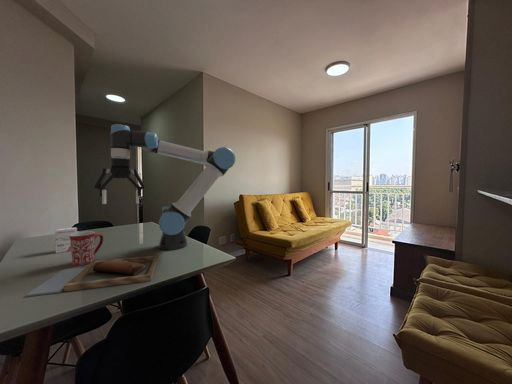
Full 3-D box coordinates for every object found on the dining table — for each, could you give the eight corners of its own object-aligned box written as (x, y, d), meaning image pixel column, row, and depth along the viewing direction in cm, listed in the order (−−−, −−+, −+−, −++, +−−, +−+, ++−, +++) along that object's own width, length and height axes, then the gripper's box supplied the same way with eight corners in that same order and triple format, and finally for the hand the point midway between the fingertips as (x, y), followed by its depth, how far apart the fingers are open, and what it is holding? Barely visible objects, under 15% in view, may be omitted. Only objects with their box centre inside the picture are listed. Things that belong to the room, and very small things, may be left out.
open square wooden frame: (159, 259, 98) (159, 255, 98) (150, 280, 76) (150, 275, 76) (94, 265, 90) (94, 261, 90) (63, 291, 68) (63, 285, 68)
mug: (75, 268, 86) (74, 236, 86) (65, 264, 91) (65, 234, 90) (108, 258, 98) (107, 231, 97) (98, 255, 102) (98, 229, 101)
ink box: (77, 247, 114) (76, 226, 114) (77, 249, 111) (77, 228, 110) (55, 251, 108) (55, 229, 108) (55, 253, 105) (54, 230, 104)
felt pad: (89, 268, 86) (89, 267, 86) (61, 292, 67) (61, 290, 67) (62, 271, 83) (62, 269, 83) (25, 296, 64) (25, 295, 64)
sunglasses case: (147, 264, 87) (140, 255, 83) (138, 280, 82) (130, 272, 78) (110, 261, 90) (102, 253, 86) (99, 276, 85) (89, 268, 80)
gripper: (151, 160, 103) (151, 202, 104) (92, 158, 96) (93, 203, 96) (148, 159, 96) (149, 203, 97) (84, 156, 89) (85, 204, 89)
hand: (121, 203), depth 97 cm, fingers open, 13 cm apart
